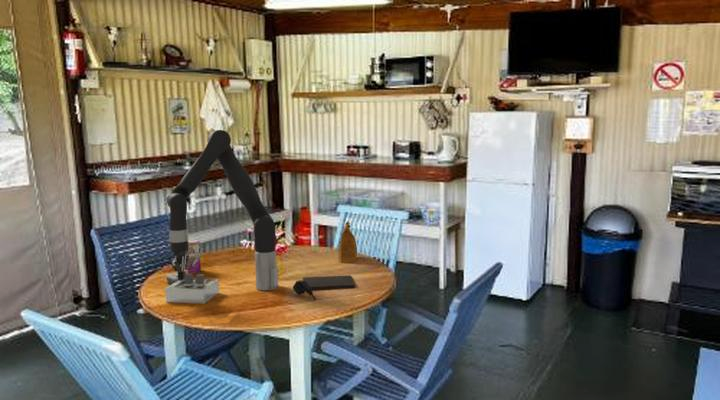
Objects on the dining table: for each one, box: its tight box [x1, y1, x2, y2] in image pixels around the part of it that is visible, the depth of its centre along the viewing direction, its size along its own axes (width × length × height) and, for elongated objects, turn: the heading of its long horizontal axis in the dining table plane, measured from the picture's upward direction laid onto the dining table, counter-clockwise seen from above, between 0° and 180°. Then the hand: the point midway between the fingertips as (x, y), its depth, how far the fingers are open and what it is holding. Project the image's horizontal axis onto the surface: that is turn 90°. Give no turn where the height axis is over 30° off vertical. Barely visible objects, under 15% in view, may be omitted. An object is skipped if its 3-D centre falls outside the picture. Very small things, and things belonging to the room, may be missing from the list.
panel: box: [164, 278, 220, 305], centre depth 234 cm, size 17×15×6 cm
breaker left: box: [195, 273, 206, 287], centre depth 229 cm, size 3×4×4 cm
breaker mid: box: [184, 273, 195, 286], centre depth 230 cm, size 3×4×4 cm
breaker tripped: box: [179, 270, 188, 282], centre depth 237 cm, size 3×4×4 cm
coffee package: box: [337, 221, 358, 264], centre depth 288 cm, size 10×12×22 cm
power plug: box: [292, 279, 317, 301], centre depth 233 cm, size 6×8×12 cm
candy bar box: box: [185, 239, 202, 274], centre depth 271 cm, size 11×5×16 cm, turn 111°
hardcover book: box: [302, 275, 356, 292], centre depth 251 cm, size 16×23×2 cm
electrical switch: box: [164, 272, 189, 285], centre depth 256 cm, size 9×5×9 cm
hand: (181, 279), depth 233 cm, fingers closed
